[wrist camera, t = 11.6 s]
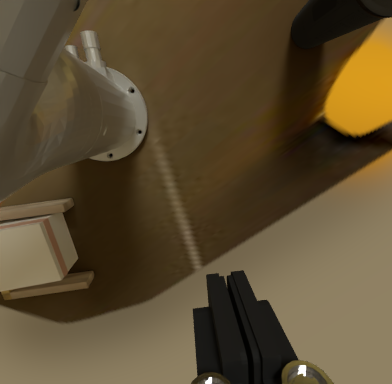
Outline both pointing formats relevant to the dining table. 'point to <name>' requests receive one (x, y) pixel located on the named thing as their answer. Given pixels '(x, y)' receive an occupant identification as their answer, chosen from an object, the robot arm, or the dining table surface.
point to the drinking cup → (335, 19)
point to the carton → (35, 251)
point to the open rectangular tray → (66, 284)
